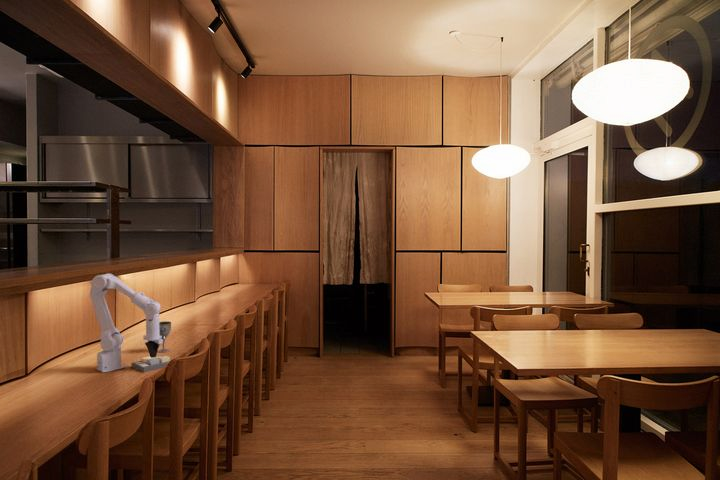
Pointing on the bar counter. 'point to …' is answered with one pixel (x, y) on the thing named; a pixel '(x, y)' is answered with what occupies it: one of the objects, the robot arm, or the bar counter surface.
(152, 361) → the key slate
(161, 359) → the key sand
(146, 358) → the key cream
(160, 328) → the wine glass
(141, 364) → the keyguard
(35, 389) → the bar counter surface
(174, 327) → the bar counter surface
